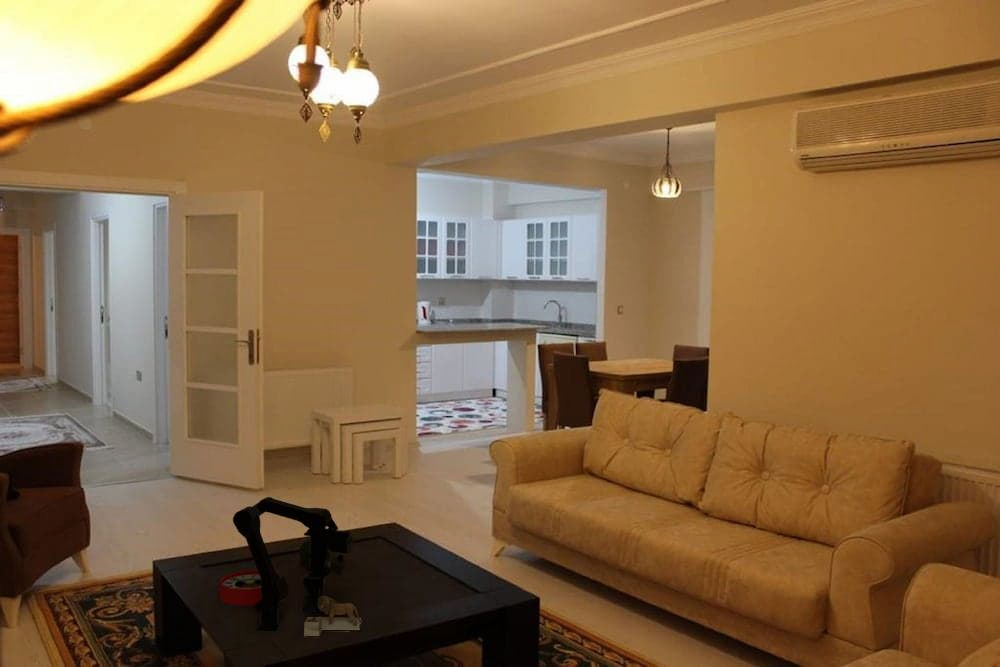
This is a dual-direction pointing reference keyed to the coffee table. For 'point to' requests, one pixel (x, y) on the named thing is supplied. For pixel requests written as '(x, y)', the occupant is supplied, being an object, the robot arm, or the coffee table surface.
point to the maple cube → (313, 626)
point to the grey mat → (339, 624)
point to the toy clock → (241, 588)
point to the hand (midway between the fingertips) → (317, 598)
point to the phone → (310, 604)
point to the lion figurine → (337, 609)
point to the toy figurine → (305, 552)
